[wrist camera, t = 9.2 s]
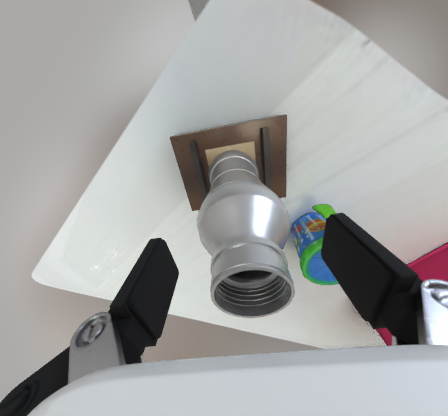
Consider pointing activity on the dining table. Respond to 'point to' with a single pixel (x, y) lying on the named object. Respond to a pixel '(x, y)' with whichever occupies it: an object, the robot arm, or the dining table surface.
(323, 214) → the snack cup
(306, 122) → the dining table surface
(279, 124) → the brown wooden base
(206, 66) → the dining table surface
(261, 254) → the silver metal bottle
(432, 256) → the storage bin
